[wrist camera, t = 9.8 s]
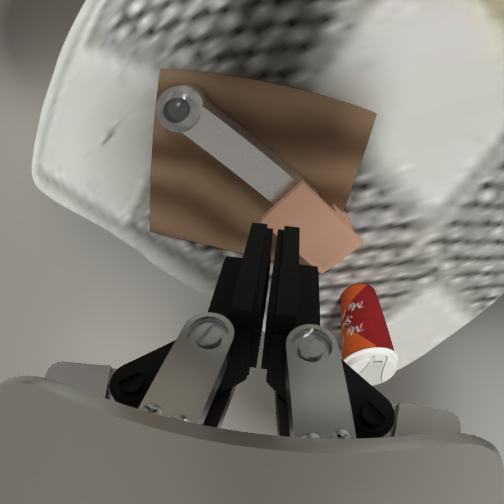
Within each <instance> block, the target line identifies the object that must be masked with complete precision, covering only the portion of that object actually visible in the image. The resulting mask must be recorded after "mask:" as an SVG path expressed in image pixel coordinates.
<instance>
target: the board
mask: <svg viewBox="0 0 504 504" xmlns="http://www.w3.org/2000/svg"><path fill="white" fill-rule="evenodd" d="M186 84H192V85H196V86H198V87H200V88H201V89H203V90H204V92H205V93H206V94H207V96H208V98H209V102H210V103H211V104H213V105H214V106H216V107H217V108H218V109H220V110H221V111H222V112H224V113H225V114H226V115H228V116H229V117H230V118H231V119H233V120H234V121H235V122H237V123H238V124H239V125H240V126H242V127H243V128H244V129H246V130H247V131H248V132H249V133H251V134H252V135H253V136H254V137H256V138H257V139H258V140H259V141H261V142H262V143H263V144H264V145H265V146H267V147H268V148H269V149H270V150H271V151H273V152H274V153H275V154H276V155H277V156H279V157H280V158H281V159H282V160H283V161H284V162H286V163H287V164H288V165H289V166H290V167H291V168H293V169H294V170H295V171H296V172H297V173H298V174H299V175H301V176H302V177H303V178H304V179H305V180H306V181H307V182H308V183H310V184H311V185H312V186H313V187H314V188H315V189H316V190H317V191H318V193H319V197H320V198H321V199H322V200H323V201H324V202H325V203H326V204H327V205H328V206H329V207H330V206H332V205H333V204H334V205H335V206H336V207H337V208H338V209H339V210H340V211H341V212H342V213H343V210H344V208H345V205H346V202H347V200H348V197H349V194H350V192H351V189H352V186H353V183H354V181H355V178H356V175H357V172H358V169H359V166H360V164H361V161H362V158H363V155H364V152H365V149H366V146H367V143H368V140H369V137H370V134H371V130H372V127H373V124H374V121H375V118H376V113H374V112H372V111H369V110H366V109H363V108H361V107H358V106H355V105H352V104H349V103H346V102H342V101H339V100H336V99H333V98H329V97H326V96H322V95H319V94H315V93H312V92H308V91H304V90H300V89H296V88H292V87H288V86H283V85H279V84H274V83H269V82H265V81H259V80H254V79H249V78H243V77H237V76H230V75H223V74H216V73H208V72H199V71H189V70H176V69H160V76H159V84H158V92H157V101H158V99H159V97H160V95H161V94H162V93H163V92H164V91H166V90H167V89H169V88H171V87H175V86H180V85H186ZM157 101H156V104H157ZM273 206H274V204H273V203H271V202H270V201H269V200H268V199H266V198H265V197H264V196H263V195H261V194H260V193H259V192H258V191H257V190H255V189H254V188H253V187H252V186H250V185H249V184H248V183H247V182H245V181H244V180H243V179H242V178H240V177H239V176H238V175H236V174H235V173H234V172H233V171H231V170H230V169H229V168H228V167H226V166H225V165H224V164H222V163H221V162H220V161H219V160H217V159H216V158H215V157H213V156H212V155H211V154H209V153H208V152H207V151H205V150H204V149H203V148H202V147H200V146H199V145H198V144H196V143H195V142H194V141H192V140H191V139H190V138H188V137H187V136H186V135H184V134H183V133H176V132H172V131H169V130H167V129H166V128H164V127H163V126H162V125H161V124H160V122H159V120H158V118H157V115H156V111H155V121H154V133H153V147H152V164H151V191H150V231H151V232H155V233H159V234H163V235H168V236H172V237H176V238H180V239H184V240H188V241H193V242H197V243H201V244H205V245H209V246H214V247H218V248H222V249H226V250H230V251H235V252H239V253H243V254H244V251H245V247H246V244H247V240H248V236H249V232H250V228H251V224H252V222H253V223H261V222H260V221H261V217H262V216H263V215H264V214H265V213H266V212H268V211H269V210H270V209H271V208H272V207H273ZM276 241H277V235H275V234H274V233H273V236H272V248H271V259H270V260H273V261H274V257H275V249H276ZM299 264H301V265H310V266H312V265H311V264H309V263H308V262H307V261H306V260H305V259H304V258H302V257H301V256H300V255H299Z"/></svg>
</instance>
